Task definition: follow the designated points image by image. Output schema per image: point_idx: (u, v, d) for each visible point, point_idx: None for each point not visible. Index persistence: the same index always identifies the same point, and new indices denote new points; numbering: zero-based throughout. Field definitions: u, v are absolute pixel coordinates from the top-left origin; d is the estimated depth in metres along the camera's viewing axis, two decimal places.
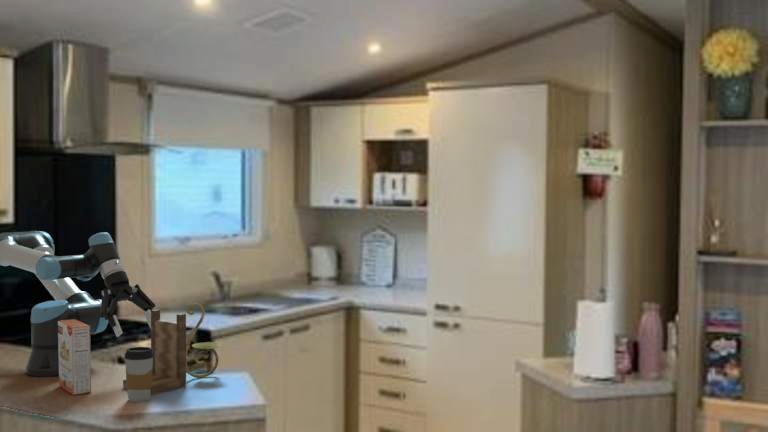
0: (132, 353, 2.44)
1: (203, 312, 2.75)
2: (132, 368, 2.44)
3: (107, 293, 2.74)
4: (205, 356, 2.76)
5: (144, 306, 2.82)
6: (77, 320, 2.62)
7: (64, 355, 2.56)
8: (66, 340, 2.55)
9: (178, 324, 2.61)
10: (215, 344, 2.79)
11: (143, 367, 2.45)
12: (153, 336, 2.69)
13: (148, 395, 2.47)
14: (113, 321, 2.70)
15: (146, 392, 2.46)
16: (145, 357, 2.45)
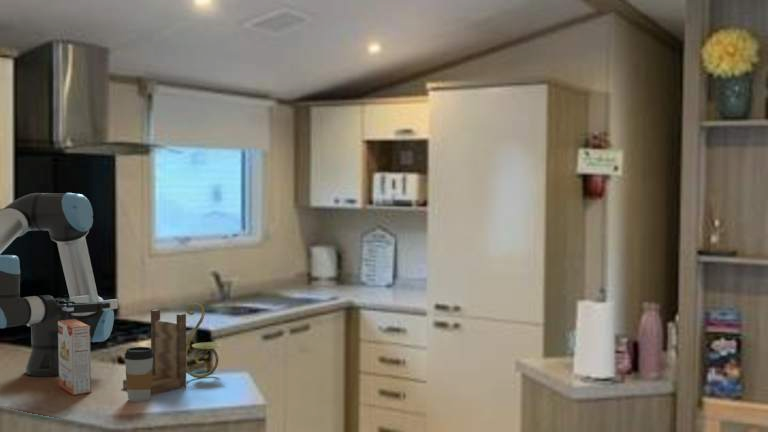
0: (132, 353, 2.44)
1: (203, 312, 2.75)
2: (132, 368, 2.44)
3: None
4: (205, 356, 2.76)
5: None
6: (77, 320, 2.62)
7: (64, 355, 2.56)
8: (66, 340, 2.55)
9: (178, 324, 2.61)
10: (215, 344, 2.79)
11: (143, 367, 2.45)
12: (153, 336, 2.69)
13: (148, 395, 2.47)
14: None
15: (146, 392, 2.46)
16: (145, 357, 2.45)
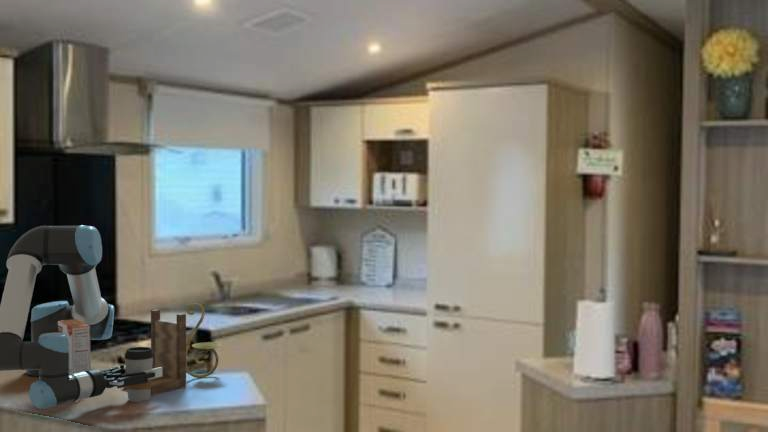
0: (132, 353, 2.44)
1: (203, 312, 2.75)
2: (132, 368, 2.44)
3: None
4: (205, 356, 2.76)
5: None
6: (77, 320, 2.62)
7: None
8: None
9: (178, 324, 2.61)
10: (215, 344, 2.79)
11: (143, 367, 2.45)
12: (153, 336, 2.69)
13: (148, 395, 2.47)
14: None
15: (146, 392, 2.46)
16: (145, 357, 2.45)
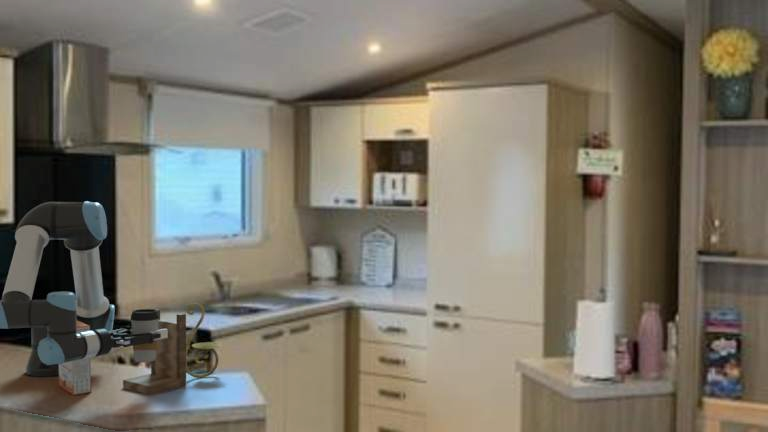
0: (138, 314, 2.49)
1: (203, 312, 2.75)
2: (138, 329, 2.49)
3: None
4: (205, 356, 2.76)
5: None
6: (77, 320, 2.62)
7: None
8: None
9: (178, 324, 2.61)
10: (215, 344, 2.79)
11: (148, 328, 2.49)
12: None
13: (153, 355, 2.52)
14: None
15: (152, 353, 2.51)
16: (151, 318, 2.50)
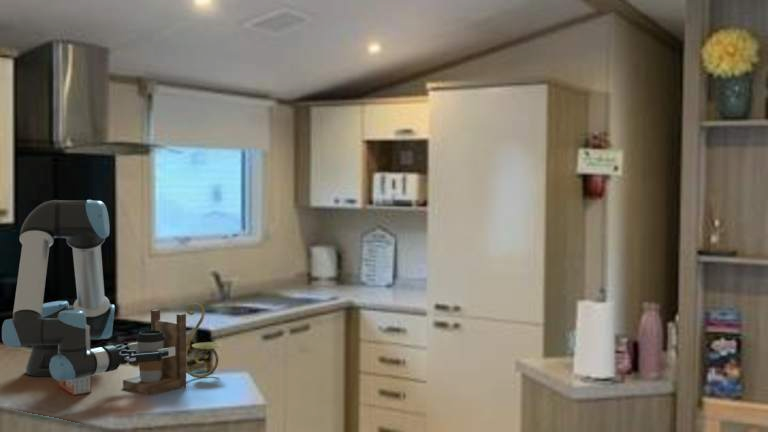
0: (144, 336, 2.57)
1: (203, 312, 2.75)
2: (144, 350, 2.57)
3: None
4: (205, 356, 2.76)
5: None
6: None
7: None
8: None
9: (178, 324, 2.61)
10: (215, 344, 2.79)
11: (154, 349, 2.57)
12: None
13: (159, 376, 2.60)
14: None
15: (158, 373, 2.59)
16: (156, 340, 2.57)
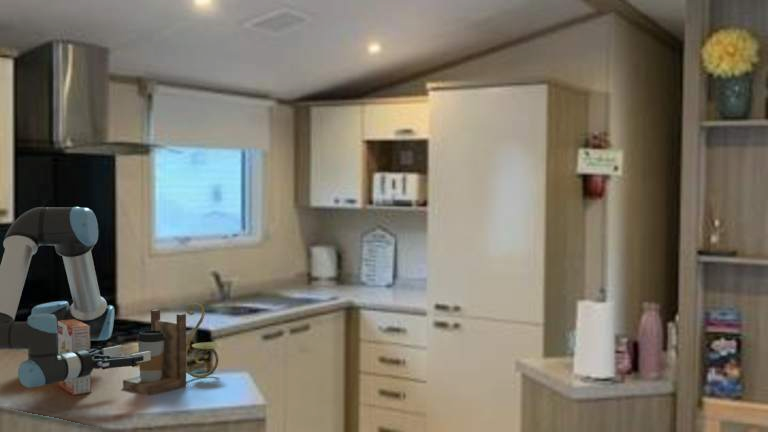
0: (145, 336, 2.57)
1: (203, 312, 2.75)
2: (145, 350, 2.57)
3: None
4: (205, 356, 2.76)
5: None
6: (77, 320, 2.62)
7: None
8: (66, 340, 2.55)
9: (178, 324, 2.61)
10: (215, 344, 2.79)
11: (155, 349, 2.58)
12: None
13: (159, 376, 2.60)
14: None
15: (158, 373, 2.59)
16: (157, 340, 2.58)
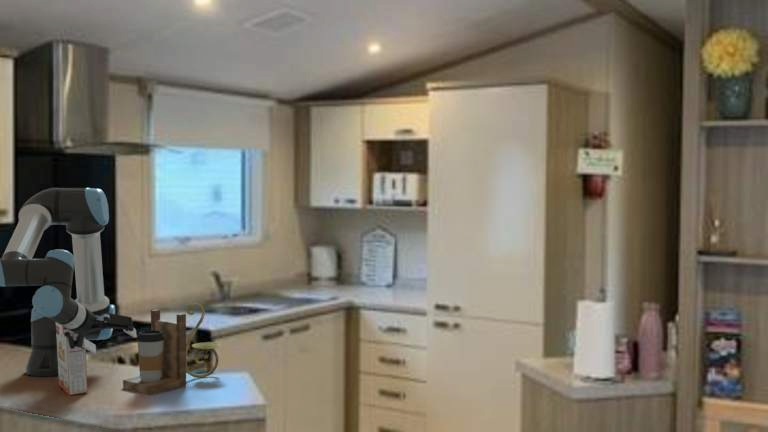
0: (144, 336, 2.57)
1: (203, 312, 2.75)
2: (144, 350, 2.57)
3: (69, 336, 2.42)
4: (205, 356, 2.76)
5: None
6: None
7: (61, 355, 2.56)
8: (61, 340, 2.54)
9: (178, 324, 2.61)
10: (215, 344, 2.79)
11: (154, 349, 2.58)
12: None
13: (159, 376, 2.60)
14: None
15: (158, 373, 2.59)
16: (156, 340, 2.58)
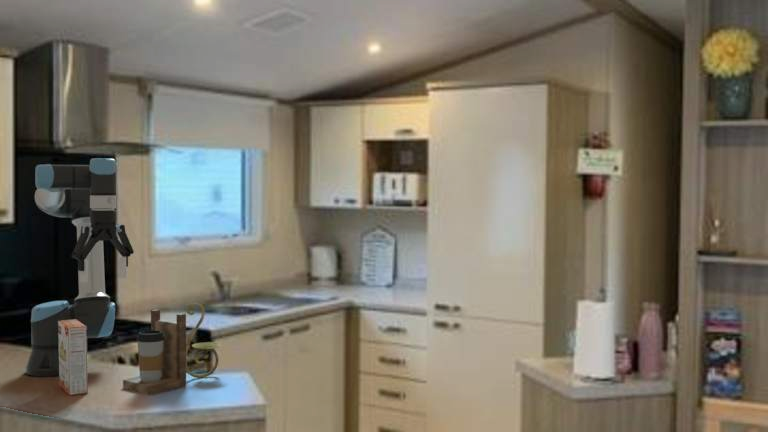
0: (144, 336, 2.57)
1: (203, 312, 2.75)
2: (144, 350, 2.57)
3: (88, 233, 2.47)
4: (205, 356, 2.76)
5: (121, 251, 2.57)
6: (77, 320, 2.62)
7: (62, 355, 2.56)
8: (63, 340, 2.54)
9: (178, 324, 2.61)
10: (215, 344, 2.79)
11: (154, 349, 2.58)
12: None
13: (159, 376, 2.60)
14: (82, 266, 2.46)
15: (158, 373, 2.59)
16: (156, 340, 2.58)
